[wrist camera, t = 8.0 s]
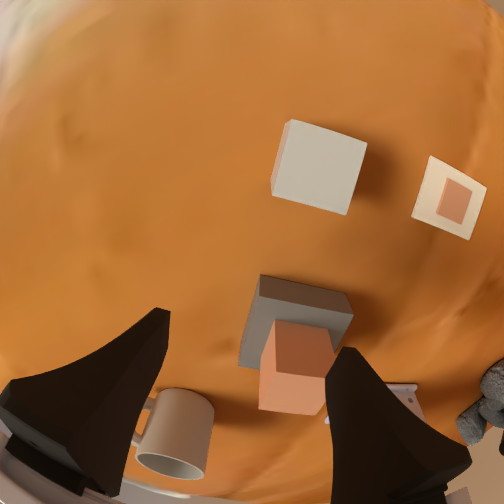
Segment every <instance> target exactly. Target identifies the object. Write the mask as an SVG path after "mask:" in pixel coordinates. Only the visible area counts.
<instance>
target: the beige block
mask: <svg viewBox="0 0 504 504" xmlns="http://www.w3.org/2000/svg"><path fill="white" fill-rule="evenodd" d="M366 147H367V143H366V142H363V141H360V140H358V139H355V138H352V137H349V136H346V135H343V134H340V133H337V132H334V131H331V130H328V129H325V128H322V127H319V126H315V125H312V124H309V123H305V122H302V121H298V120H294V119H291V120H290V121H288V122H287V123H285V126H284V130H283V134H282V137H281V141H280V145H279V149H278V153H277V157H276V161H275V165H274V169H273V173H272V177H271V190H272V196H276V197H280V198H284V199H288V200H291V201H295V202H299V203H303V204H307V205H310V206H314V207H318V208H321V209H325V210H328V211H332V212H335V213H339V214H342V215H346V213H347V210H348V207H349V204H350V201H351V198H352V195H353V192H354V188H355V185H356V182H357V178H358V175H359V172H360V168H361V165H362V161H363V158H364V154H365V151H366Z"/></svg>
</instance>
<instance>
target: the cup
mask: <svg viewBox="0 0 504 504" xmlns="http://www.w3.org/2000/svg"><path fill="white" fill-rule="evenodd" d="M143 409H146V410H149V411H150V414H149V417H148V419H147V422H146V425H145V428H144V431H143V434H142V435H140V434H138V433H137V432H136V431H134V434H133V438H132V441H131V444H132V445H133V446H135V447H137V451H136V454H135V458H136V460H137V461H138V462H139V463H140V464H141V465H143V466H144V467H146V468H148V469H150V470H152V471H154V472H156V473H159V474H162V475H165V476H168V477H172V478H177V479H183V480H197V479H201V478H203V477H204V474H205V468H206V462H207V456H208V450H209V445H210V439H211V433H212V427H213V421H214V408H213V406H212V404H211V403H210V402H209V401H208V400H207V399H206V398H205V397H203V396H202V395H200V394H198V393H196V392H193V391H190V390H187V389H182V388H169V389H165V390H163V391H161V392H159V393H158V394H157V396H156V398H155V399H153V398H150V397H147V399H146V401H145V404H144V406H143V408H142V410H143Z"/></svg>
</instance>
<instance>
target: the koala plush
mask: <svg viewBox="0 0 504 504" xmlns="http://www.w3.org/2000/svg"><path fill="white" fill-rule="evenodd" d="M480 388H481V391H482V393H483V394H484V395H485V397H483V398H482V399H480V400H479V401H478V402H476V403H475V404H474V405H472V407H470V408H469V409H467V410H466V411H464V413H462V414H461V416H459V417H458V419H457V420H456V421H457V422H456V423H457V427H458V431H459V433H460V434H461V436H462V438H463V439H464V440H465V442H466V443H467V444H468V445H471V446H473V444H475V443H478V442H479V441H480V440H481V439H482V438H483V436H484V433H485V431H486V427H487V421H488V422H489V423H490V424H492V425H493V426H495V427H499V428H504V359H503V360H501V361H499V362H498V363H496V364H495V365H494V366H492V367H491V368H490V369H489V370H488V371H486V373H485V375H484V376H483V377H482V382H481V383H480ZM499 451H500V453H501V454H502V455H503V456H504V431H503V436H502V440H501V444H500V446H499Z"/></svg>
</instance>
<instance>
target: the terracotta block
mask: <svg viewBox="0 0 504 504" xmlns="http://www.w3.org/2000/svg"><path fill="white" fill-rule="evenodd" d="M335 360H336V359H335V356H334V352H333V348H332V344H331V340H330V336H329V332H328V329H326V328H320V327H314V326H308V325H303V324H297V323H292V322H287V321H282V320H277V319H275V320H274V322H273V325H272V328H271V331H270V334H269V336H268V339H267V342H266V345H265V348H264V350H263V353H262V356H261V362H260V388H259V409H261V410H268V411H276V412H284V413H294V414H305V415H316V414H317V413H318V411H319V410H320V409H321V407H322V406H323V404H324V403H325V402H326V399H325V376H326V375H327V373H328V372H329V370H330V368H331V366H332V365H333V363H334V361H335Z"/></svg>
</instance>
